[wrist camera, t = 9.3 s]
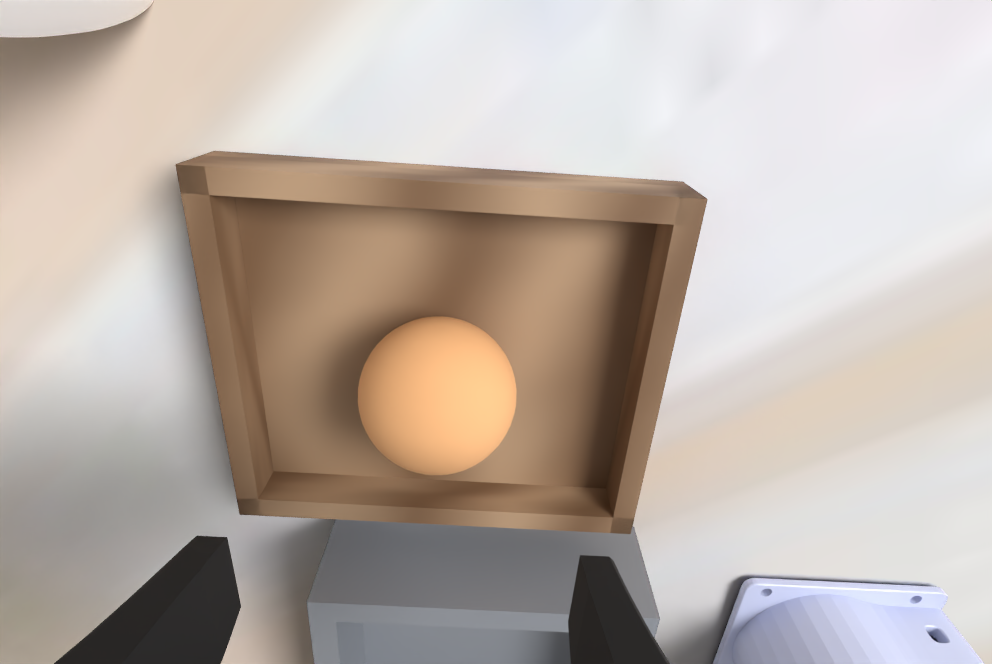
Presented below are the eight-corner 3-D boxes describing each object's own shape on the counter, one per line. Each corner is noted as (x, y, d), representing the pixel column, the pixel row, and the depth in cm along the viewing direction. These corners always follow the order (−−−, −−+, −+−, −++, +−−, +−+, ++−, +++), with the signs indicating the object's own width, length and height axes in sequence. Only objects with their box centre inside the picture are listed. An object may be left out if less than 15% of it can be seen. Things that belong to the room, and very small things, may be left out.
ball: (519, 296, 19) (527, 370, 15) (508, 418, 21) (512, 514, 17) (371, 288, 19) (334, 360, 15) (376, 411, 21) (345, 507, 17)
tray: (682, 182, 18) (707, 199, 16) (618, 491, 24) (630, 534, 22) (214, 150, 18) (175, 164, 16) (263, 472, 24) (239, 514, 22)
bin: (633, 527, 25) (659, 618, 21) (592, 704, 31) (607, 802, 27) (338, 512, 25) (306, 602, 21) (352, 694, 30) (330, 792, 26)
